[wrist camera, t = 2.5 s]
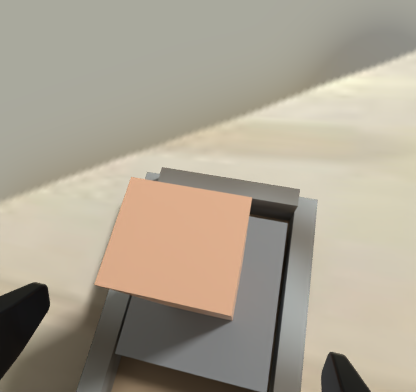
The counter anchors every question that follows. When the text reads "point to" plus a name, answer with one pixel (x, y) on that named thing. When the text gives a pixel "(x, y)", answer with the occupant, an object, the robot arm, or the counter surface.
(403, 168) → the counter surface
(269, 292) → the carriage
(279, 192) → the rail
